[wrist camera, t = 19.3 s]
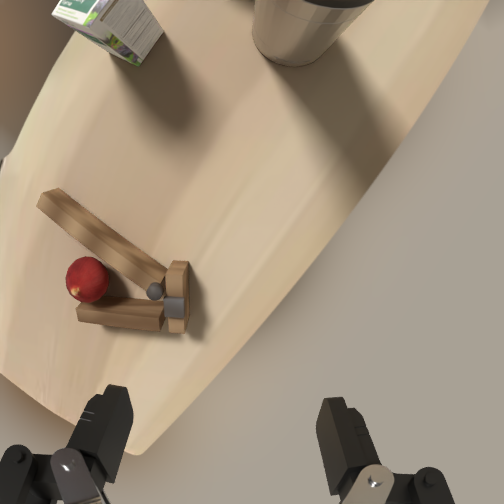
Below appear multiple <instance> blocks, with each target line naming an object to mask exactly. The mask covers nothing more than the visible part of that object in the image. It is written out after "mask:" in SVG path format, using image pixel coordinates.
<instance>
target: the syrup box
mask: <svg viewBox="0 0 504 504" xmlns="http://www.w3.org/2000/svg"><path fill="white" fill-rule="evenodd" d="M52 16H54V17H55V18H57V19H59V20H60V21H62V22H63V23H65V24H66V25H68V26H69V27H71V28H73V29H74V30H76V31H77V32H78V33H80V34H81V35H83V36H84V37H86V38H87V39H89V40H90V41H92V42H93V43H95V44H96V45H98V46H99V47H101V48H103V49H104V50H106V51H107V52H109V53H111V54H113V55H115V56H117V57H119V58H121V59H123V60H125V61H127V62H130V63H132V64H134V65H136V66H140V64H141V63H142V61H143V60H144V58H145V57H146V56H147V54H148V53H149V51H150V50H151V48H152V47H153V46H154V44H155V43H156V41H157V40H158V39H159V37H160V36H161V34H162V33H163V32H164V30H163V29H162V27H161V26H160V25H159V23H158V21H157V20H156V18H155V17H154V16H153V14H152V13H151V11H150V10H149V8H148V7H147V5H146V4H145V3H144V1H143V0H60V2H59V3H58V5H57V6H56V8H55V10H54V11H53V13H52Z"/></svg>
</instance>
